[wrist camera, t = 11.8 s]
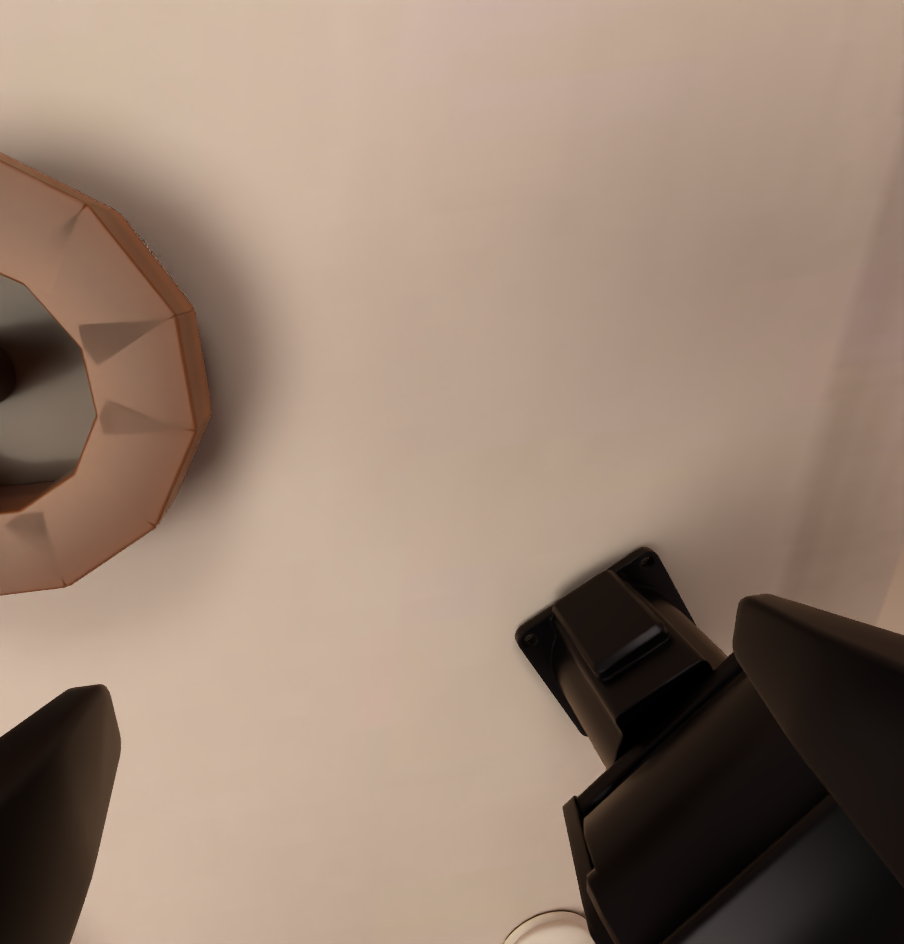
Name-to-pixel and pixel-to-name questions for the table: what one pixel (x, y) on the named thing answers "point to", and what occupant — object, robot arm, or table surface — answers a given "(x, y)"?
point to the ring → (100, 381)
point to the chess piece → (552, 930)
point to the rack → (39, 392)
